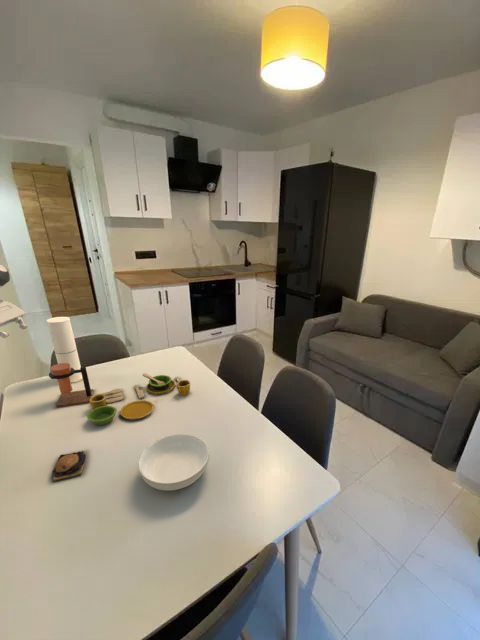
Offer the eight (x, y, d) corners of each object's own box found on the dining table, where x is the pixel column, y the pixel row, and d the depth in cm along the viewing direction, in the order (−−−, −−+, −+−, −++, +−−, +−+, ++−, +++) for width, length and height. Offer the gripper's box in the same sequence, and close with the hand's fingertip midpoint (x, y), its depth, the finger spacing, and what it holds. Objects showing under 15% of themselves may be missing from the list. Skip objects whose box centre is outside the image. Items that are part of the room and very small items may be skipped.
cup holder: (54, 407, 119) (45, 376, 113) (59, 395, 127) (51, 365, 121) (90, 402, 123) (83, 372, 117) (93, 390, 132) (87, 362, 126)
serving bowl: (209, 446, 102) (209, 430, 100) (209, 496, 83) (209, 479, 81) (147, 451, 99) (145, 435, 96) (133, 505, 80) (130, 487, 77)
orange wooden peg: (54, 396, 118) (47, 371, 114) (58, 388, 124) (52, 364, 120) (74, 393, 121) (68, 369, 116) (77, 385, 127) (71, 362, 122)
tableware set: (180, 376, 147) (180, 365, 144) (198, 405, 125) (198, 392, 122) (87, 396, 127) (84, 383, 125) (89, 433, 105) (86, 419, 103)
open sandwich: (83, 475, 88) (80, 466, 87) (50, 482, 85) (47, 473, 84) (88, 451, 97) (86, 443, 96) (58, 457, 94) (56, 448, 93)
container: (59, 379, 140) (43, 319, 128) (77, 372, 146) (64, 315, 134) (67, 384, 135) (51, 323, 123) (86, 377, 142) (73, 319, 130)
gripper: (-1, 304, 115) (31, 328, 120) (-50, 320, 97) (-10, 347, 101) (7, 293, 114) (39, 318, 118) (-41, 307, 95) (-1, 336, 99)
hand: (16, 332), depth 109 cm, fingers open, 8 cm apart
